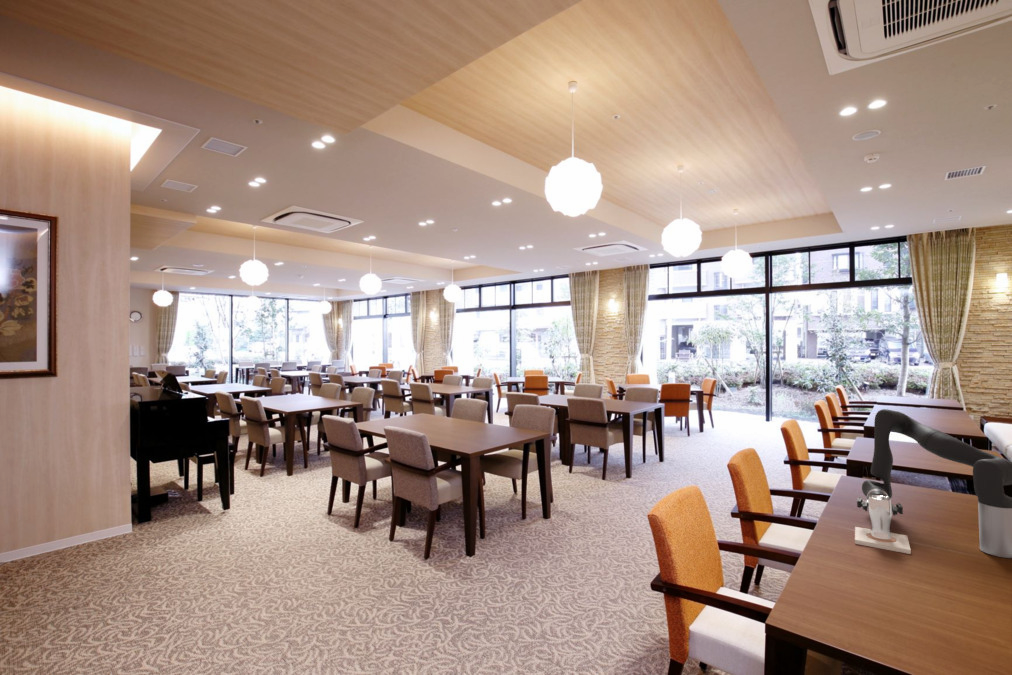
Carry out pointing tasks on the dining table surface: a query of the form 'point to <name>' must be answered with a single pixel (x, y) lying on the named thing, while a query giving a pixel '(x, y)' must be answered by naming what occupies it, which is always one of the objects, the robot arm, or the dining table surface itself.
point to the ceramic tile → (882, 541)
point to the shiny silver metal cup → (880, 516)
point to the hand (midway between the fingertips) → (880, 510)
